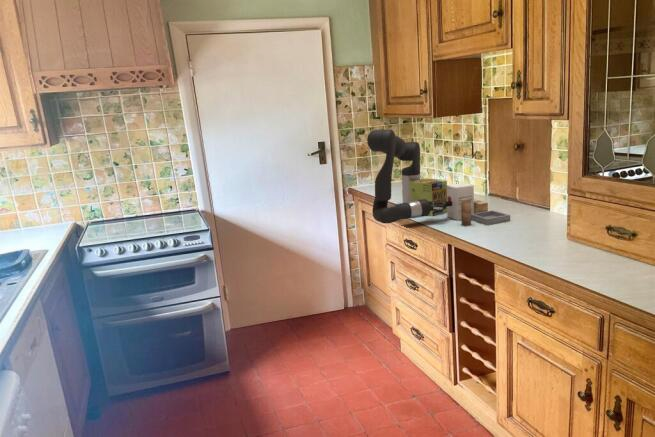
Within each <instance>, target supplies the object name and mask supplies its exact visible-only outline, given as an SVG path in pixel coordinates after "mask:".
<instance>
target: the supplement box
mask: <svg viewBox="0 0 655 437" xmlns="http://www.w3.org/2000/svg"><path fill="white" fill-rule="evenodd" d="M474 189H475V187H474V185H473V184H470V183H465V182H458V183H450V184H447V201H452V206H448V207H447V213H446V214H447V215H446V216H447V217H448V218H450V219H453V220H455V221H461V199H471V214H474V199H475V195H474V192H475V190H474Z"/></svg>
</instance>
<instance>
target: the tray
mask: <svg viewBox="0 0 655 437" xmlns="http://www.w3.org/2000/svg"><path fill="white" fill-rule="evenodd" d="M472 221H473V222H476V223H479V224H482V225H485V226H489V225H490V226H491V225H497V224H501V222H502V223H507V222H510V221H511V214H508V213H505V212H501V211H497V210H494V209H492V210H488V211H485V212H480V213H474V214H471V222H472ZM506 221H507V222H506Z"/></svg>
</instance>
